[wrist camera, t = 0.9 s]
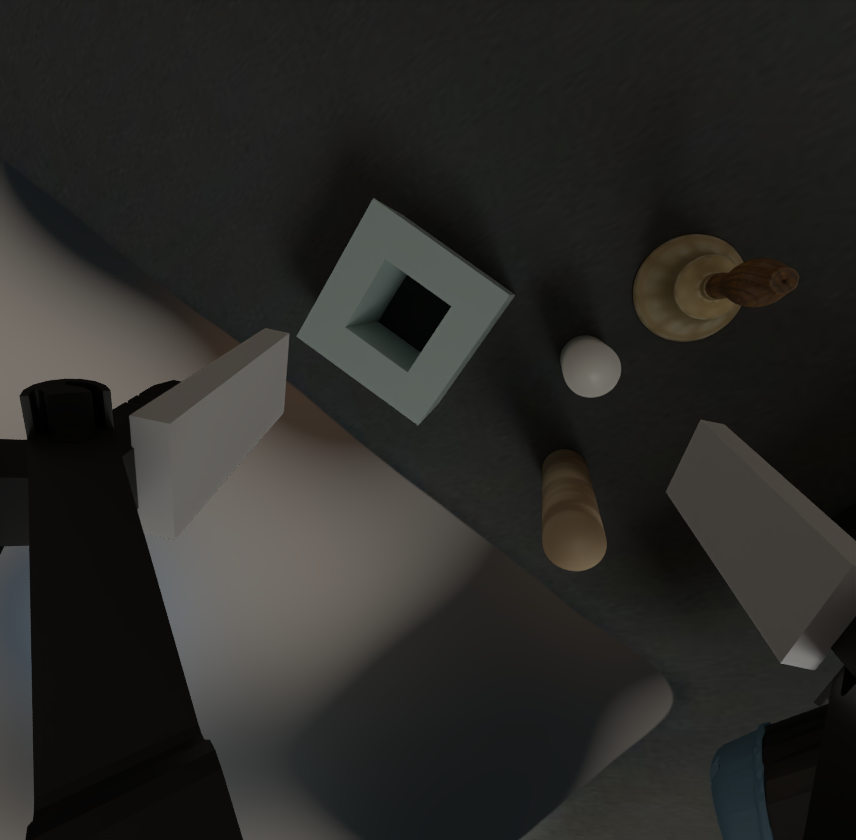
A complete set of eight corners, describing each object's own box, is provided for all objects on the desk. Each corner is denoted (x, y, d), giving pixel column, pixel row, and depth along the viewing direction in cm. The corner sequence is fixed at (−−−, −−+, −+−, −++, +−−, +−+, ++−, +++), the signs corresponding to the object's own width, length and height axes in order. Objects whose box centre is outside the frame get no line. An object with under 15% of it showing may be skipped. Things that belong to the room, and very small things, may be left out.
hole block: (515, 295, 42) (509, 295, 34) (438, 403, 46) (417, 425, 38) (403, 215, 42) (373, 198, 35) (336, 329, 46) (296, 336, 39)
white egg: (618, 353, 41) (633, 364, 34) (587, 390, 42) (596, 408, 36) (580, 325, 41) (587, 331, 35) (550, 363, 43) (552, 376, 36)
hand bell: (649, 226, 38) (719, 182, 23) (762, 243, 37) (914, 207, 22) (620, 331, 41) (666, 352, 26) (725, 350, 39) (839, 385, 24)
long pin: (596, 466, 44) (620, 540, 31) (568, 498, 45) (579, 582, 32) (560, 440, 44) (568, 502, 31) (533, 472, 45) (529, 545, 32)
